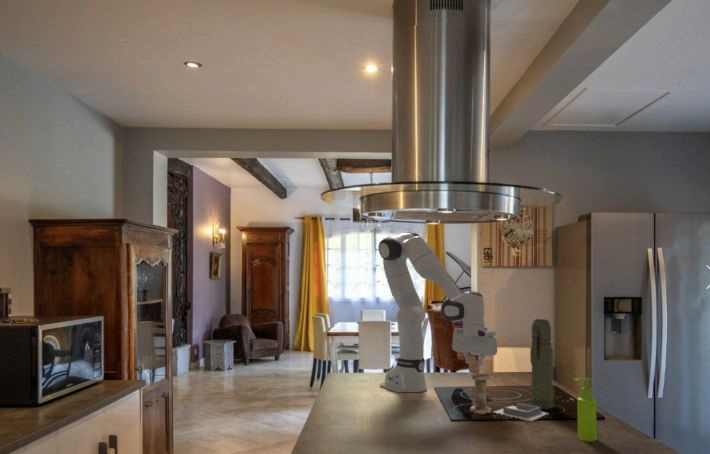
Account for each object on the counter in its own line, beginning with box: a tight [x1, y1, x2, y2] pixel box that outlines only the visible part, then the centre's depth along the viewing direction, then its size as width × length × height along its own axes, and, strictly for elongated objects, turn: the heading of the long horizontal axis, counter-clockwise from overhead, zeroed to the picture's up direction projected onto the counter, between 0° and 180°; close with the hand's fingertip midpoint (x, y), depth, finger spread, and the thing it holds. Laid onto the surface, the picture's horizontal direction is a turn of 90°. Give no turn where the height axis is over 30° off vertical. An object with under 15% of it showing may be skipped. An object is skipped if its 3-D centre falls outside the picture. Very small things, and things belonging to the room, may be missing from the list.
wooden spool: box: [469, 373, 492, 415], centre depth 232 cm, size 8×8×14 cm
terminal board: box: [493, 402, 550, 422], centre depth 228 cm, size 16×14×3 cm
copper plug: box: [468, 353, 481, 374], centre depth 244 cm, size 4×4×7 cm
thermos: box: [529, 318, 555, 410], centre depth 241 cm, size 9×12×35 cm
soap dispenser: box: [573, 377, 598, 442], centre depth 198 cm, size 6×7×20 cm
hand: (474, 364), depth 244 cm, fingers closed on copper plug, 4 cm apart
